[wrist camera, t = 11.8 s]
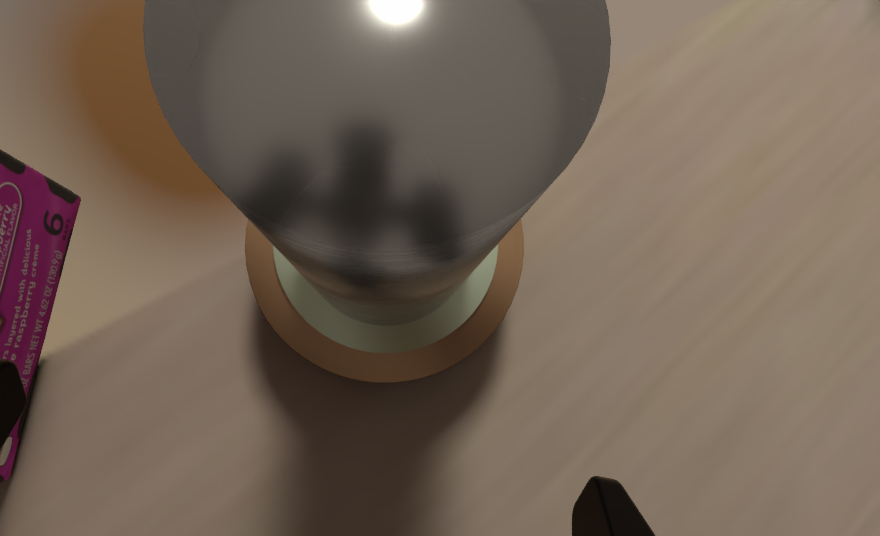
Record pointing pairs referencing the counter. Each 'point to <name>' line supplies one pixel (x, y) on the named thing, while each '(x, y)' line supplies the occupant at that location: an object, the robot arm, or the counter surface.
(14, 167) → the candy bar box
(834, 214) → the counter surface
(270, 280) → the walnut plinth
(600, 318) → the counter surface
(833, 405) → the counter surface
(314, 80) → the grey tin
